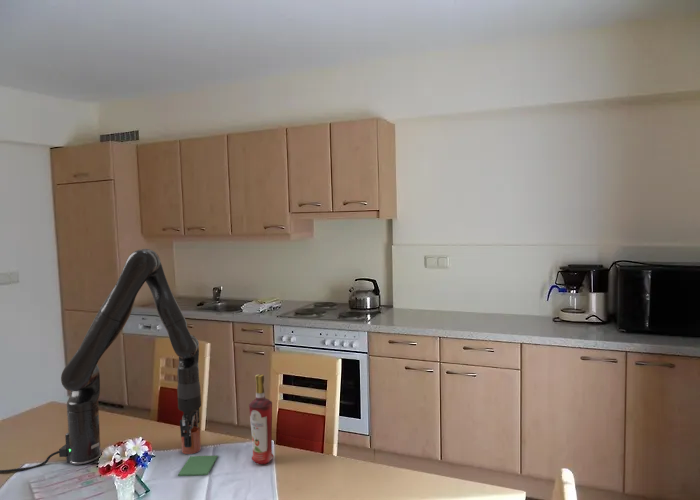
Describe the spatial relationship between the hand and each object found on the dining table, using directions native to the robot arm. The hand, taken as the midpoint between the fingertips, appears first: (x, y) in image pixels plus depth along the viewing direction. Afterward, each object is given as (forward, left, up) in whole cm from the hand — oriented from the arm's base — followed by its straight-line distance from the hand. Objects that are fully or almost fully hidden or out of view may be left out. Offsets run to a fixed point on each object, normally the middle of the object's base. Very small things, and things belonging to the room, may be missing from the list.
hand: (191, 442), depth 169 cm
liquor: (+26, -10, -3) cm, 28 cm away
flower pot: (0, 0, -3) cm, 3 cm away
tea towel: (+6, -12, -3) cm, 14 cm away
